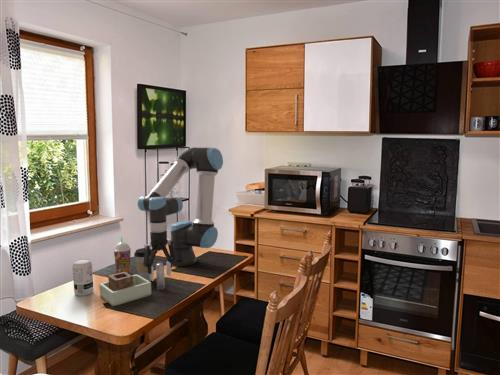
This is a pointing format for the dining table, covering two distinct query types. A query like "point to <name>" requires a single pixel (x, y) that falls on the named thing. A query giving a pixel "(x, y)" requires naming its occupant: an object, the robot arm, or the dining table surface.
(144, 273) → the coffee cup
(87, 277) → the supplement can
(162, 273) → the steel peg
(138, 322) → the dining table surface
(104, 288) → the crate
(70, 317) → the dining table surface
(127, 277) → the socket block
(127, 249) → the smoothie
